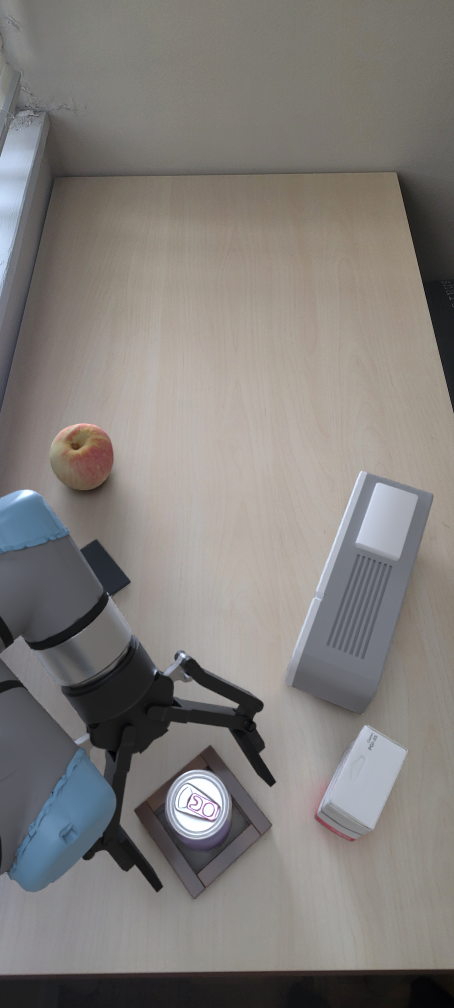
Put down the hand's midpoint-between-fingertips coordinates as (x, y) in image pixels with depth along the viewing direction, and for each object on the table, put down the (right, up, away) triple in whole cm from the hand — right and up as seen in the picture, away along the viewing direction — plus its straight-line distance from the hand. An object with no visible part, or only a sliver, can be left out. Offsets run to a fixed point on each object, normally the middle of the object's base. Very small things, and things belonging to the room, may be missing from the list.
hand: (213, 827), depth 61 cm
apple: (-19, +35, +32) cm, 51 cm away
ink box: (+15, -1, +9) cm, 17 cm away
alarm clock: (+17, +18, +21) cm, 32 cm away
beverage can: (-1, -3, +8) cm, 9 cm away
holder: (-1, -3, +8) cm, 9 cm away
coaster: (-17, +21, +23) cm, 35 cm away
